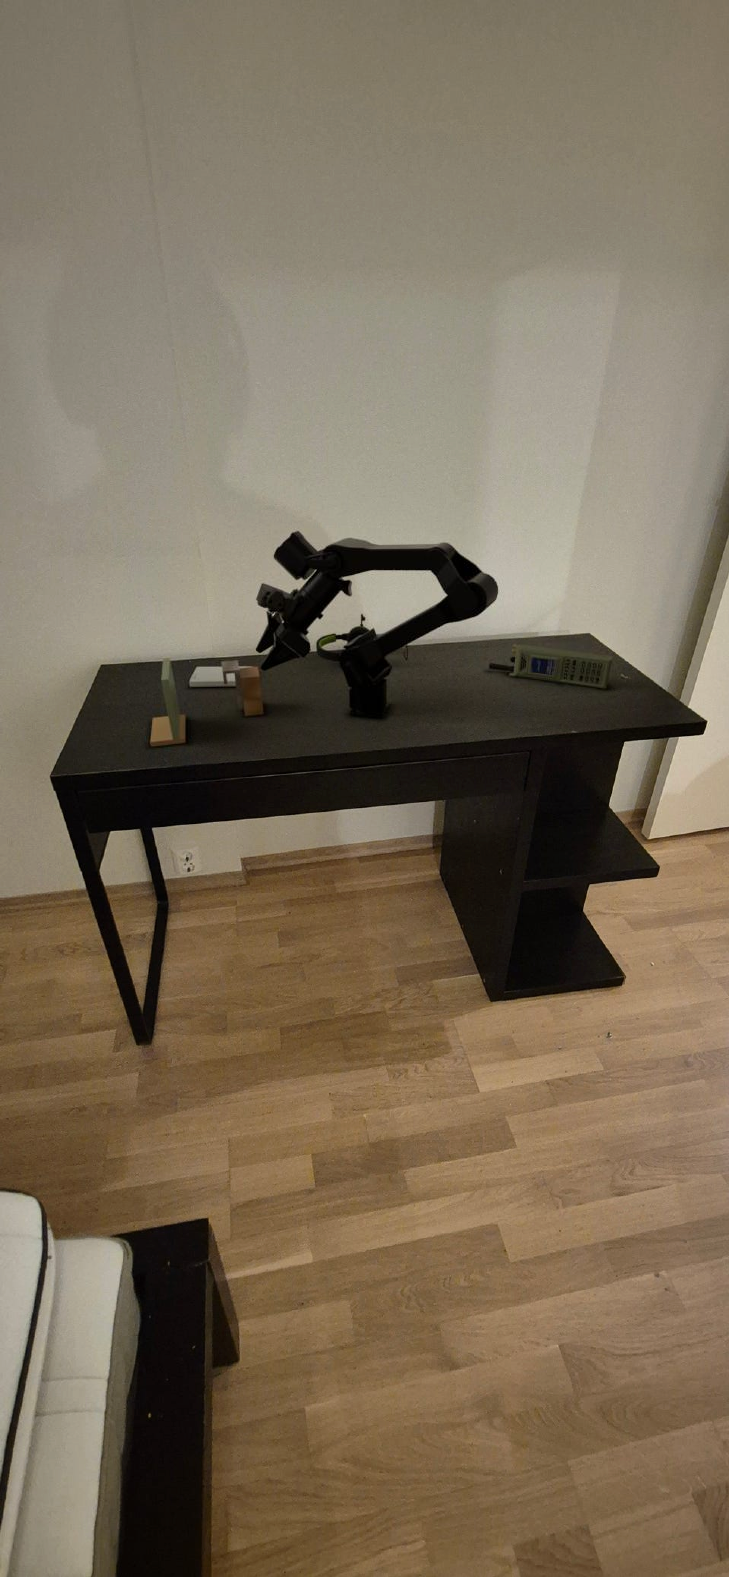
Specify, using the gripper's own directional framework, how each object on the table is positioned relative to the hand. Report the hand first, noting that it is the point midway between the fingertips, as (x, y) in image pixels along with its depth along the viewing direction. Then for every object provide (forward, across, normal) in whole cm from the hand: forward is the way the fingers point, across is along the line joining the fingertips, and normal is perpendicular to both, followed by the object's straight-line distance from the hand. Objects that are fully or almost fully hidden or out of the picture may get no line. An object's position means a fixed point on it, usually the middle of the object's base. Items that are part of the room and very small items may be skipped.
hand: (259, 660), depth 125 cm
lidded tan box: (+10, 0, +5) cm, 11 cm away
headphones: (-10, -20, +24) cm, 33 cm away
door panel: (+20, +6, -6) cm, 22 cm away
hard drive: (+13, -17, +2) cm, 21 cm away
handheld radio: (-35, 0, +50) cm, 61 cm away
